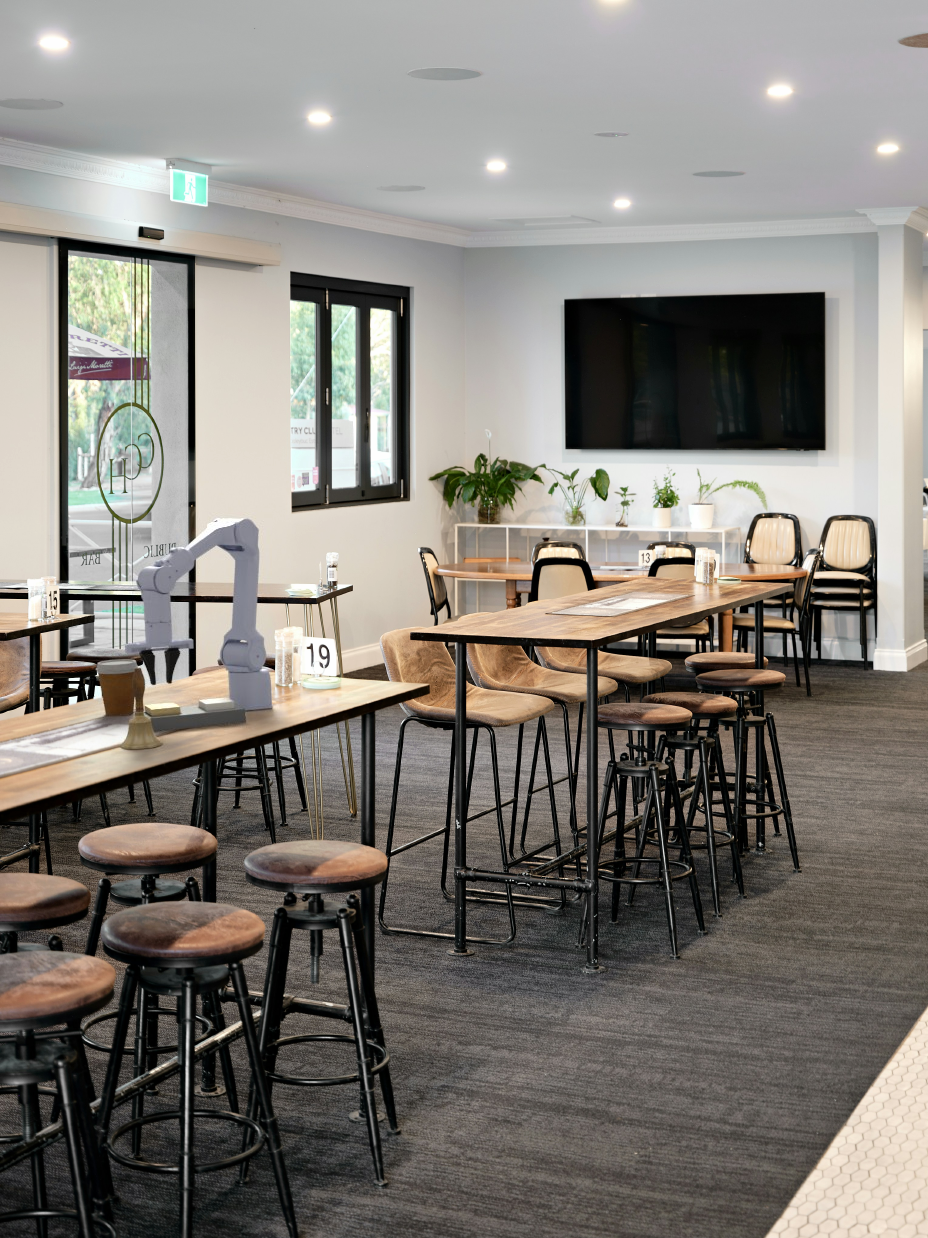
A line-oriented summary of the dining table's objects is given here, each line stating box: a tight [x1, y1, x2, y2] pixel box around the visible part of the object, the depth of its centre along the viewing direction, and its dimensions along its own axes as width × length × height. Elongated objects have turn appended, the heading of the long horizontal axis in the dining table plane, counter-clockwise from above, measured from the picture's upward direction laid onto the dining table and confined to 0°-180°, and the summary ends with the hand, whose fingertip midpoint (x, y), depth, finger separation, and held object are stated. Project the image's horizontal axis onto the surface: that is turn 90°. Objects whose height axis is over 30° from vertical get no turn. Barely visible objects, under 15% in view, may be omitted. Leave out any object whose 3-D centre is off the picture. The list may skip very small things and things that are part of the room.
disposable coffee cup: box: [95, 658, 139, 717], centre depth 338 cm, size 10×10×12 cm
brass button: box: [144, 702, 181, 717], centre depth 321 cm, size 6×6×3 cm
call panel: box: [133, 703, 247, 733], centre depth 324 cm, size 22×11×3 cm, turn 115°
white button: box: [198, 696, 234, 711], centre depth 326 cm, size 6×6×3 cm
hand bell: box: [120, 667, 163, 750], centre depth 299 cm, size 8×8×16 cm
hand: (161, 683), depth 320 cm, fingers open, 3 cm apart
